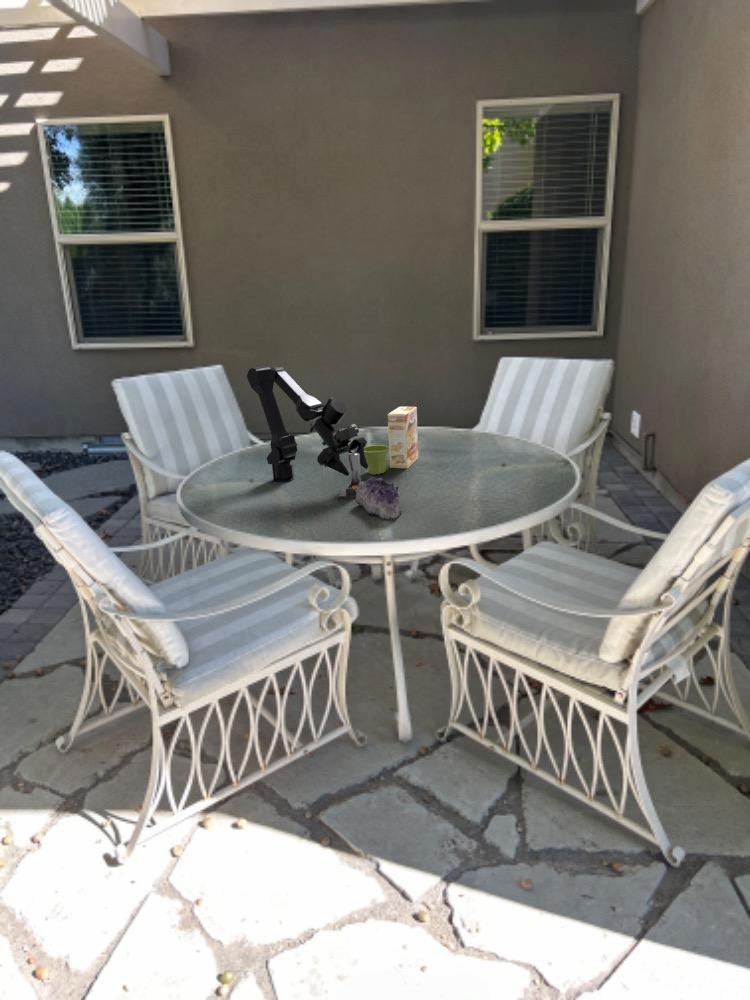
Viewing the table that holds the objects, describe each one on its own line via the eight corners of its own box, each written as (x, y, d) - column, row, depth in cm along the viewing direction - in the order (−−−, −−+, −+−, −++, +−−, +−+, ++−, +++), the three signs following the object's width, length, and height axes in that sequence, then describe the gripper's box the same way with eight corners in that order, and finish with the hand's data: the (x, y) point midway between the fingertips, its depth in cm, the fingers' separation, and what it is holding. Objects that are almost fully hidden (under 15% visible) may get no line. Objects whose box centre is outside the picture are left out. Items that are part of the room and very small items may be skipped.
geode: (416, 516, 197) (411, 484, 193) (379, 528, 194) (373, 496, 190) (388, 495, 215) (383, 465, 211) (354, 506, 211) (348, 475, 208)
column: (350, 492, 218) (347, 455, 215) (351, 489, 222) (349, 452, 218) (361, 492, 218) (358, 455, 214) (362, 488, 221) (360, 452, 218)
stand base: (338, 498, 216) (337, 488, 215) (343, 489, 226) (342, 479, 224) (370, 498, 215) (369, 487, 214) (373, 488, 224) (373, 478, 223)
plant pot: (387, 476, 237) (386, 451, 234) (360, 476, 239) (359, 451, 236) (392, 468, 246) (391, 445, 243) (366, 468, 248) (364, 445, 245)
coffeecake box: (408, 468, 245) (406, 414, 239) (388, 468, 247) (386, 414, 241) (419, 458, 258) (417, 406, 252) (401, 457, 261) (398, 405, 255)
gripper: (320, 423, 209) (350, 462, 205) (360, 412, 222) (389, 449, 219) (304, 446, 216) (333, 484, 212) (344, 434, 229) (371, 470, 226)
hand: (357, 471), depth 217 cm, fingers open, 9 cm apart
